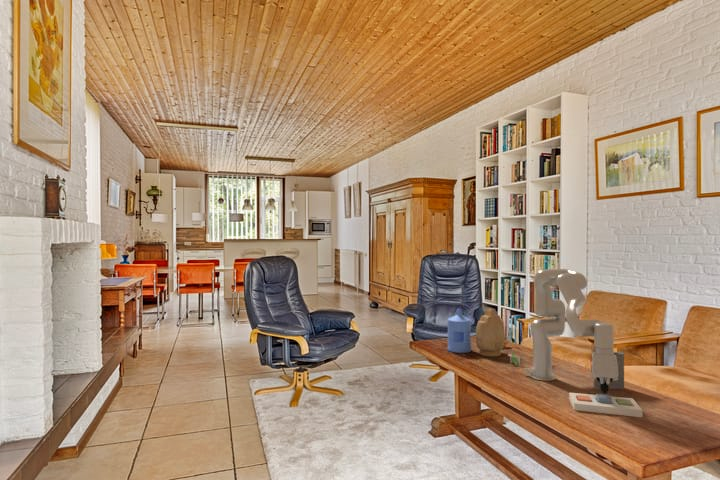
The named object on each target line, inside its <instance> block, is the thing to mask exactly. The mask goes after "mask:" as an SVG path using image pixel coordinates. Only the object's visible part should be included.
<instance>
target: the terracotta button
mask: <svg viewBox="0 0 720 480" xmlns="http://www.w3.org/2000/svg"><path fill="white" fill-rule="evenodd" d="M577 400H578V401H587V402H591V398H590V397H589V396H583V395H577Z"/></svg>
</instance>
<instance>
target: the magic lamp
mask: <svg viewBox="0 0 720 480" xmlns="http://www.w3.org/2000/svg"><path fill="white" fill-rule="evenodd" d="M511 331H512V330H509V331H508V335H507V337H505V342H504V347H503V349H507V348H508V347H507V346H506V345H508V344H509V343H510V342H509V341H510V340H509V339H507V338H512V334H511ZM509 336H510V337H509Z"/></svg>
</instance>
